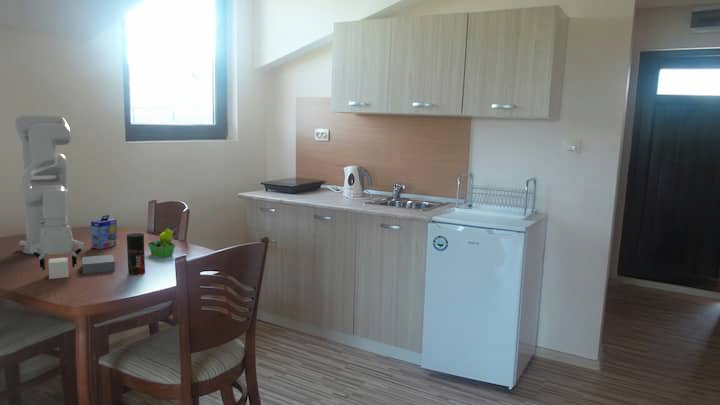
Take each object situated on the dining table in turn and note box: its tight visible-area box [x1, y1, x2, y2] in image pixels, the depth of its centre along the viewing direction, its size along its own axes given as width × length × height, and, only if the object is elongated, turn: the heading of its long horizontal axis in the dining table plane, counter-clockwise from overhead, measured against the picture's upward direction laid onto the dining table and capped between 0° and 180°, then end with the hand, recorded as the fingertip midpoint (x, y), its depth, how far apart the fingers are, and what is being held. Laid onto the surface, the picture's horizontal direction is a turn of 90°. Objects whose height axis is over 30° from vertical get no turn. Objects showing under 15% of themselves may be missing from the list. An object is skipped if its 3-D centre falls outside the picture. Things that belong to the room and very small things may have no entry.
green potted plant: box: [147, 228, 176, 259], centre depth 227 cm, size 11×9×11 cm
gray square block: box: [81, 254, 116, 275], centre depth 206 cm, size 11×11×4 cm
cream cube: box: [47, 257, 70, 280], centre depth 195 cm, size 6×6×6 cm
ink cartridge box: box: [90, 214, 118, 250], centre depth 238 cm, size 10×6×14 cm, turn 158°
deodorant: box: [126, 232, 146, 276], centre depth 200 cm, size 6×6×15 cm
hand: (58, 267), depth 195 cm, fingers open, 9 cm apart
